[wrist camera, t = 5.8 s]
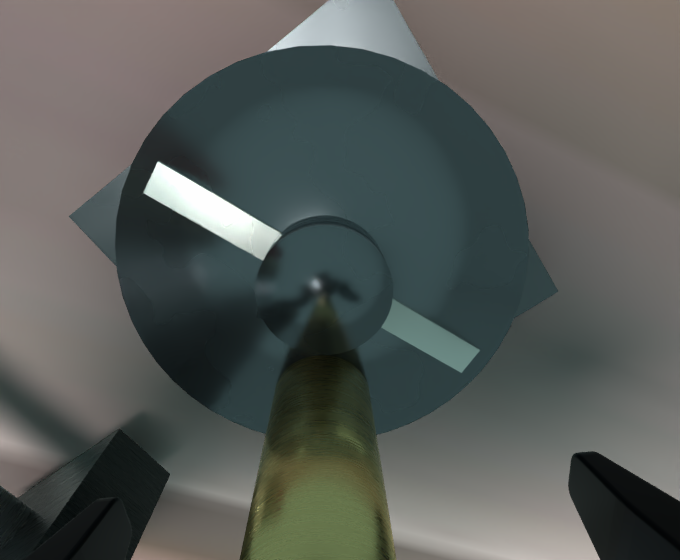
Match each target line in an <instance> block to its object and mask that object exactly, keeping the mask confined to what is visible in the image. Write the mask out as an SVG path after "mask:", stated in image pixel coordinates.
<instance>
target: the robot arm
mask: <svg viewBox="0 0 680 560" xmlns="http://www.w3.org/2000/svg"><path fill="white" fill-rule="evenodd" d="M568 487H569V493H570V496H571V498H572V501H573V503H574V505H575V507H576V509H577V511H578V513H579V516H580V518H581V520H582V522H583V524H584V526H585V528H586V530H587V533H588V535H589V537H590V539H591V541H592V543H593V545H594V547H595V549H596V552H597V554H598V556H599V558H600V560H680V501H678V500H677V499H675V498H673V497H672V496H670V495H668V494H667V493H665V492H663V491H661V490H660V489H658V488H656V487H655V486H653V485H651V484H650V483H648V482H646V481H645V480H643V479H641V478H640V477H638V476H636V475H635V474H633V473H631V472H629V471H628V470H626V469H624V468H623V467H621V466H619V465H618V464H616V463H614V462H613V461H611V460H609V459H608V458H606V457H604V456H603V455H601V454H599V453H597V452H593V451H591V452H580V453H575V454H574V455H573V456H572V458H571V466H570V474H569V482H568ZM131 535H132V529H131V524H130V521H129V518H128V516H127V513H126V510H125V507H124V505H123V502H122V500H121V499H120V498H119V497H110V498H101V499H97V500H96V501H94V502H93V503H92V504H90V505H89V506H88V507H87V508H85V509H84V510H83V511H82V512H81V513H79V514H78V515H77V516H76V517H75V518H73V519H72V520H71V521H70V522H69V523H67V524H66V525H65V526H64V527H62V528H61V529H60V530H59V531H58V532H56V533H55V534H54V535H53V536H52V537H50V538H49V539H48V540H47V541H45V542H44V543H43V544H42V545H41V546H39V547H38V548H37V549H36V550H35V551H33V552H32V553H31V554H30V555H29V556H27V557H26V558H25V559H24V560H125V557H126V554H127V551H128V547H129V544H130V540H131Z"/></svg>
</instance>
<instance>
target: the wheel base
mask: <svg viewBox="0 0 680 560" xmlns="http://www.w3.org/2000/svg"><path fill="white" fill-rule="evenodd" d="M318 45H333V46H342V47H350V48H359V49H364V50H368V51H372V52H375V53H379V54H383V55H386V56H390V57H393V58H396V59H398V60H400V61H402V62H405V63H407V64H409V65H412V66H414V67H416V68H418V69H421V70H422V71H424V72H426V73H427V74H429V75H430V76H432V77H434V78H435V79H437V80H438V78H437V77H436V75H435V73H434V71H433V70H432V68H431V66H430V64H429V63H428V61H427V59H426V57H425V56H424V54H423V52H422V50H421V48H420V47H419V45H418V43H417V41H416V40H415V38H414V36H413V34H412V33H411V31H410V29H409V27H408V26H407V24H406V22H405V20H404V19H403V17H402V15H401V13H400V11H399V10H398V8H397V6H396V4H395V3H394V1H393V0H329V1H328V2H326V3H325V4H324V5H323V6H322V7H320V8H319V9H318V10H317V11H316V12H314V13H313V14H312V15H311V16H310V17H308V18H307V19H306V20H305V21H304V22H302V23H301V24H300V25H299V26H298V27H296V28H295V29H294V30H293V31H292V32H290V33H289V34H288V35H287V36H286V37H284V38H283V39H282V40H281V41H279V42H278V43H277V44H276V45H275V46H273V47H272V48H271V49H270V50H269V51H274V50H280V49H285V48H291V47H296V46H318ZM267 52H268V51H267ZM438 81H439V80H438ZM130 167H131V165H130V166H129V167H128V168H127V169H125V170H124V171H123V172H122V173H121V174H119V175H118V176H117V177H116V178H115V179H113V180H112V181H111V182H110V183H109V184H107V185H106V186H105V187H104V188H103V189H101V190H100V191H99V192H98V193H97V194H95V195H94V196H93V197H92V198H91V199H89V200H88V201H87V202H86V203H85V204H83V205H82V206H81V207H80V208H79V209H77V210H76V211H75V212H74V213H72V214H71V215H70V216H69V217H70V218H71V219H72V220H73V221H74V222H75V223H76V224H77V225H78V226H79V228H80V229H81V230H82V231H83V232H84V233H85V234H86V235H87V236H88V237H89V238H90V239H91V240H92V241H93V242H94V243H95V244H96V245H97V246H98V247H99V248H100V250H101V251H102V252H103V253H104V254H105V255H106V256H107V257H108V258H109V259H110V260H111V261H112V262H113V263H114V264H115V265H116V266H117V264H116V252H115V234H116V218H117V213H118V208H119V203H120V198H121V193H122V189H123V187H124V184H125V181H126V178H127V176H128V173H129V170H130ZM528 243H529V257H528V264H527V272H526V280H525V284H524V288H523V292H522V296H521V299H520V303H519V306H518V309H517V311H516V314H515V316H514V318H515V317H517V316H519V315H520V314H522V313H524V312H525V311H527V310H529V309H530V308H532V307H533V306H535V305H537V304H538V303H540V302H542V301H543V300H545V299H547V298H548V297H550V296H552V295H553V294H555V293H557V292H558V290H557V288H556V287H555V285H554V283H553V281H552V279H551V278H550V276H549V274H548V272H547V271H546V269H545V267H544V265H543V264H542V262H541V260H540V258H539V257H538V255H537V253H536V251H535V250H534V248H533V246H532V244H531V242H530V241H529V239H528Z"/></svg>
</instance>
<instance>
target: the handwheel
mask: <svg viewBox="0 0 680 560" xmlns="http://www.w3.org/2000/svg"><path fill="white" fill-rule="evenodd" d="M115 252H116V264H117V273H118V278H119V282H120V286H121V291H122V295H123V299H124V301H125V304H126V307H127V309H128V312H129V315H130V317H131V320H132V322H133V324H134V326H135V328H136V330H137V332H138V334H139V336H140V337H141V339H142V341H143V343H144V344H145V346H146V347H147V349H148V350H149V352H150V353H151V354H152V356H153V357H154V359H155V360H156V362H157V363H158V364H159V365H160V366H161V367H162V369H163V370H164V371H165V372H166V373H167V374H168V375H169V376H170V378H171V379H172V380H173V381H174V382H175V383H177V384H178V385H179V386H180V387H181V388H182V389H183V390H184V391H186V392H187V393H188V394H189V395H190V396H191V397H193V398H194V399H196V400H197V401H198V402H200V403H201V404H203V405H204V406H206V407H207V408H208V409H210V410H211V411H213V412H215V413H217V414H219V415H221V416H223V417H224V418H226V419H228V420H230V421H232V422H234V423H237V424H239V425H242V426H244V427H247V428H249V429H252V430H255V431H258V432H262V433H265V434H266V436H265V440H264V445H263V450H262V455H261V460H260V464H259V469H258V474H257V479H256V484H255V488H254V493H253V498H252V503H251V508H250V512H249V517H248V522H247V527H246V532H245V537H244V541H243V546H242V551H241V556H240V560H396V555H395V549H394V542H393V536H392V530H391V524H390V517H389V511H388V505H387V499H386V492H385V486H384V480H383V474H382V467H381V461H380V455H379V449H378V442H377V436H376V435H377V434H381V433H385V432H388V431H391V430H394V429H396V428H399V427H402V426H404V425H407V424H409V423H412V422H413V421H415V420H417V419H419V418H421V417H423V416H425V415H427V414H429V413H431V412H432V411H434V410H435V409H437V408H438V407H440V406H441V405H443V404H444V403H446V402H447V401H449V400H450V399H452V398H453V397H454V396H455V395H456V394H457V393H459V392H460V391H461V390H462V389H463V388H465V387H466V386H467V385H468V384H469V383H470V382H471V381H472V380H473V379H474V378H475V377H476V376H477V374H478V373H479V372H480V371H481V370H482V369H483V368H484V367H485V365H486V364H487V363H488V361H489V360H490V359H491V357H492V356H493V355H494V353H495V352H496V351H497V349H498V348H499V346H500V344H501V342H502V341H503V339H504V337H505V335H506V333H507V332H508V330H509V328H510V326H511V323H512V321H513V319H514V316H515V314H516V311H517V309H518V306H519V303H520V299H521V296H522V292H523V288H524V284H525V280H526V272H527V264H528V257H529V243H528V224H527V217H526V210H525V203H524V200H523V197H522V193H521V190H520V186H519V183H518V180H517V177H516V175H515V172H514V170H513V168H512V166H511V164H510V161H509V159H508V157H507V155H506V153H505V151H504V149H503V148H502V146H501V145H500V143H499V142H498V140H497V138H496V137H495V135H494V134H493V132H492V131H491V129H490V128H489V127H488V125H487V124H486V123H485V122H484V121H483V120H482V119H481V117H480V116H479V115H478V114H477V113H476V112H475V111H474V109H473V108H472V107H471V106H470V105H469V104H468V103H467V102H465V101H464V100H463V99H462V98H461V97H460V96H458V95H457V94H456V93H455V92H454V91H452V90H451V89H450V88H449V87H448V86H446V85H445V84H443V83H442V82H440V81H438V80H437V79H435V78H434V77H432V76H430V75H429V74H427V73H426V72H424V71H422V70H421V69H418V68H416V67H414V66H412V65H409V64H407V63H405V62H402V61H400V60H398V59H396V58H393V57H390V56H386V55H383V54H379V53H375V52H372V51H368V50H364V49H359V48H350V47H342V46H333V45H318V46H296V47H291V48H285V49H280V50H274V51H268V52H265V53H262V54H259V55H256V56H253V57H250V58H247V59H244V60H241V61H238V62H236V63H234V64H232V65H230V66H228V67H226V68H224V69H222V70H220V71H219V72H217V73H215V74H213V75H211V76H209V77H208V78H206V79H205V80H203V81H202V82H201V83H199V84H198V85H197V86H195V87H194V88H192V89H191V90H190V91H188V92H187V93H186V94H184V95H183V96H182V97H181V98H180V99H179V100H178V101H177V102H176V103H175V104H174V105H173V106H172V107H171V108H170V109H169V110H168V111H167V112H166V113H165V114H164V115H163V116H162V117H161V119H160V120H159V121H158V123H157V124H156V125H155V127H154V128H153V129H152V131H151V132H150V133H149V135H148V136H147V137H146V139H145V140H144V142H143V144H142V146H141V148H140V150H139V151H138V153H137V155H136V157H135V159H134V161H133V163H132V164H131V167H130V170H129V173H128V176H127V178H126V181H125V184H124V187H123V189H122V193H121V198H120V203H119V208H118V213H117V218H116V234H115Z"/></svg>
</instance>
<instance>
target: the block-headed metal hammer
mask: <svg viewBox="0 0 680 560" xmlns="http://www.w3.org/2000/svg"><path fill="white" fill-rule="evenodd" d="M169 476H170V474H169V473H168V472H167V471H166V470H165V469H164V468H163V467H162V466H161V465H159V464H158V463H157V462H156V461H155V460H154V459H153V458H152V457H150V456H149V455H148V454H147V453H146V452H145V451H144V450H143V449H142V448H140V447H139V446H138V445H137V444H136V443H135V442H134V441H133V440H132V439H130V438H129V437H128V436H127V435H126V434H125V433H124V432H123V431H121V430H120V429H118V430H117V431H115V432H114V433H112V434H111V435H109V436H108V437H107V438H105V439H104V440H102V441H101V442H99V443H98V444H96V445H95V446H93V447H92V448H90V449H89V450H87V451H86V452H85V453H83V454H82V455H80V456H79V457H77V458H76V459H74V460H73V461H71V462H70V463H68V464H67V465H65V466H64V467H63V468H61V469H60V470H58V471H57V472H55V473H54V474H52V475H51V476H49V477H48V478H46V479H45V480H43V481H42V482H41V483H39V484H38V485H36V486H35V487H33V488H32V489H30V490H29V491H27V492H26V493H24V494H23V495H22V496H20V497H19V498H16V497H15V496H14V495H12V494H11V493H10V492H8V491H7V490H6V489H4V488H3V487H2V486H0V560H24V559H25V558H26V557H27V556H29V555H30V554H31V553H32V552H33V551H35V550H36V549H37V548H38V547H39V546H41V545H42V544H43V543H44V542H45V541H47V540H48V539H49V538H50V537H52V536H53V535H54V534H55V533H56V532H58V531H59V530H60V529H61V528H62V527H64V526H65V525H66V524H67V523H69V522H70V521H71V520H72V519H73V518H75V517H76V516H77V515H78V514H79V513H81V512H82V511H83V510H84V509H85V508H87V507H88V506H89V505H90V504H92V503H93V502H94V501H96V500H97V499H101V498H110V497H119V498H120V499H121V500H122V502H123V505H124V507H125V510H126V513H127V516H128V518H129V521H130V524H131V529H132V535H131V540H130V544H129V547H128V551H127V554H126V557H125V560H131V558H132V556H133V553H134V551H135V549H136V547H137V545H138V543H139V541H140V538H141V536H142V534H143V532H144V530H145V528H146V525H147V523H148V521H149V519H150V517H151V515H152V513H153V510H154V508H155V506H156V504H157V502H158V500H159V497H160V495H161V493H162V491H163V489H164V487H165V485H166V482H167V480H168V478H169Z"/></svg>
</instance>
